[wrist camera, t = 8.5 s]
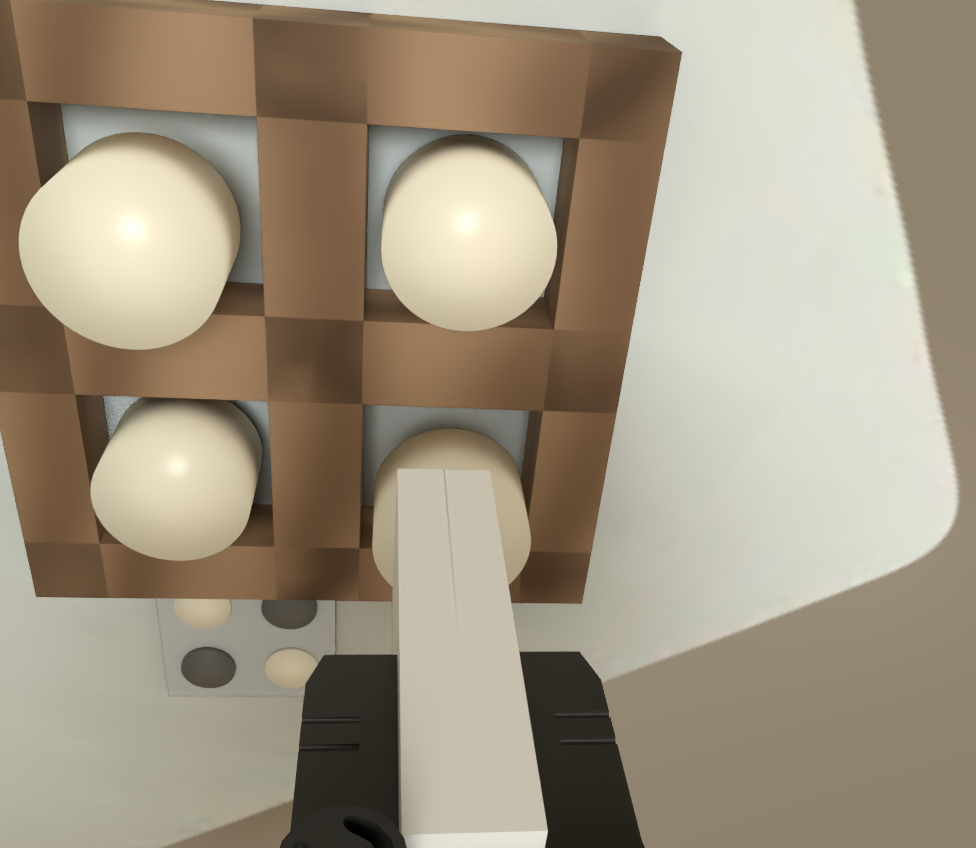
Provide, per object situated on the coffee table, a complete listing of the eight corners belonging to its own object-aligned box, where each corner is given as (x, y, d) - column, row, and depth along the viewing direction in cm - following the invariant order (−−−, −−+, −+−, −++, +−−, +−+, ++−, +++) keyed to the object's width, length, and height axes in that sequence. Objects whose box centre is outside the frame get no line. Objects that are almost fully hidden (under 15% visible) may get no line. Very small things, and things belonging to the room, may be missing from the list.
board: (58, 552, 36) (36, 596, 34) (-54, -22, 25) (-96, -10, 23) (571, 561, 38) (581, 603, 36) (660, 36, 28) (682, 52, 26)
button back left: (123, 505, 34) (101, 559, 31) (106, 385, 31) (80, 432, 29) (264, 508, 34) (254, 561, 32) (259, 390, 32) (246, 437, 29)
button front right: (381, 287, 30) (379, 327, 28) (385, 129, 28) (383, 157, 25) (534, 294, 31) (546, 334, 28) (552, 141, 28) (567, 169, 26)
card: (170, 690, 40) (167, 699, 40) (153, 564, 36) (150, 572, 36) (335, 691, 41) (334, 700, 40) (335, 567, 37) (334, 575, 37)
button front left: (70, 299, 27) (36, 345, 25) (43, 126, 25) (2, 157, 22) (245, 307, 28) (229, 353, 25) (236, 138, 25) (217, 171, 23)
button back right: (373, 546, 33) (370, 605, 30) (376, 426, 30) (374, 478, 28) (513, 549, 34) (522, 606, 31) (528, 430, 31) (539, 482, 28)
